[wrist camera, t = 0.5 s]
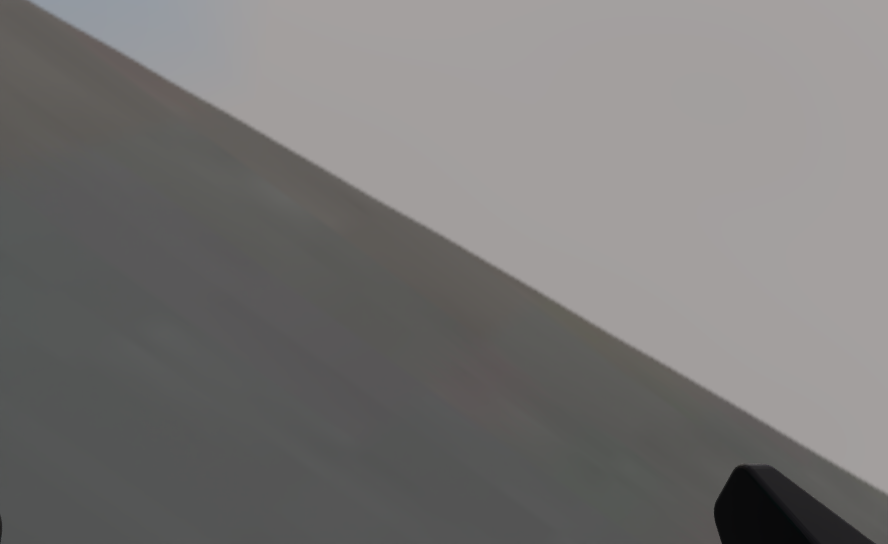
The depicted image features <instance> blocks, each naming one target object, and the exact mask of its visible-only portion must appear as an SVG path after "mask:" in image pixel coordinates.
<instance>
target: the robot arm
mask: <svg viewBox="0 0 888 544" xmlns="http://www.w3.org/2000/svg"><path fill="white" fill-rule="evenodd" d="M714 518H715V523H716V526H717V529H718V533H719V536H720V539H721V542H722V544H875V543H874V542H873V541H871V540H870V539H869V538H867V537H866V536H865V535H863V534H862V533H861V532H859V531H858V530H857V529H855V528H854V527H853V526H851V525H850V524H849V523H847V522H846V521H845V520H843V519H842V518H841V517H839V516H838V515H837V514H835V513H834V512H833V511H831V510H830V509H829V508H827V507H826V506H825V505H823V504H822V503H821V502H819V501H818V500H817V499H815V498H814V497H813V496H811V495H810V494H809V493H807V492H806V491H805V490H803V489H802V488H801V487H799V486H798V485H797V484H795V483H794V482H793V481H791V480H790V479H789V478H787V477H786V476H785V475H783V474H782V473H781V472H779V471H778V470H777V469H775V468H774V467H772V466H770V465H767V464H740V465H739V466H737V467H736V468H735V469H734V470H733V472H732V474H731V475H730V477H729V479H728V481H727V482H726V484H725V486H724V488H723V490H722V491H721V493H720V495H719V497H718V498H717V500H716V503H715V507H714ZM1 536H2V521H1V516H0V542H1Z"/></svg>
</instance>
